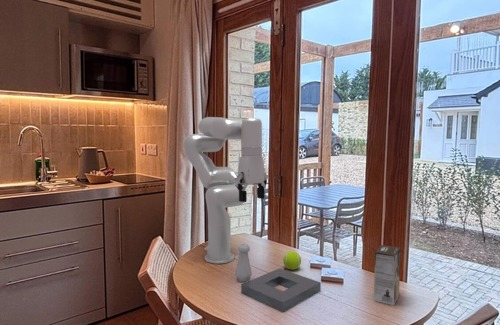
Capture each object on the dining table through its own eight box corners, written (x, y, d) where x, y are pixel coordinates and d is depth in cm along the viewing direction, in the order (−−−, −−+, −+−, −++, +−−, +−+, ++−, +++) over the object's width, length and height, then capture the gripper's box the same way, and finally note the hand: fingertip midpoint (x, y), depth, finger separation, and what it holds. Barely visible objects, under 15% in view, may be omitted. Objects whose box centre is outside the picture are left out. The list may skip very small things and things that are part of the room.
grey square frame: (241, 292, 115) (241, 284, 115) (279, 276, 129) (279, 268, 129) (283, 312, 102) (283, 302, 102) (320, 291, 116) (320, 282, 116)
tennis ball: (283, 272, 133) (283, 254, 132) (283, 265, 140) (283, 248, 139) (301, 272, 132) (301, 255, 132) (300, 266, 139) (300, 249, 139)
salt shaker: (249, 283, 122) (249, 248, 121) (234, 282, 123) (234, 246, 122) (252, 277, 128) (253, 243, 127) (237, 276, 129) (237, 242, 128)
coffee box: (379, 290, 117) (380, 244, 116) (399, 294, 114) (401, 247, 113) (373, 301, 109) (374, 251, 108) (394, 306, 106) (396, 255, 105)
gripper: (259, 152, 133) (259, 196, 134) (227, 153, 120) (227, 202, 121) (274, 152, 128) (274, 198, 129) (242, 153, 115) (243, 204, 116)
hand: (252, 199), depth 125 cm, fingers open, 9 cm apart
